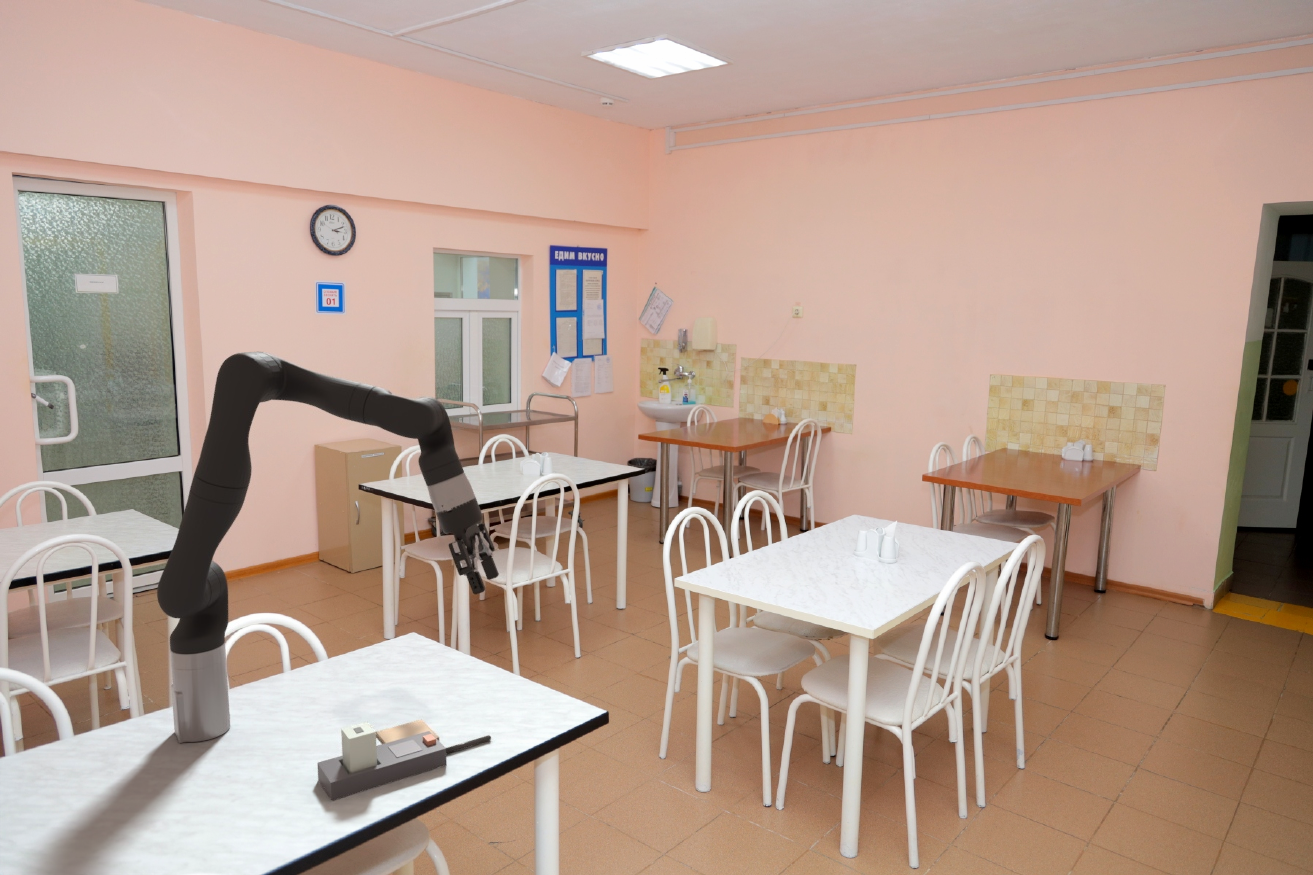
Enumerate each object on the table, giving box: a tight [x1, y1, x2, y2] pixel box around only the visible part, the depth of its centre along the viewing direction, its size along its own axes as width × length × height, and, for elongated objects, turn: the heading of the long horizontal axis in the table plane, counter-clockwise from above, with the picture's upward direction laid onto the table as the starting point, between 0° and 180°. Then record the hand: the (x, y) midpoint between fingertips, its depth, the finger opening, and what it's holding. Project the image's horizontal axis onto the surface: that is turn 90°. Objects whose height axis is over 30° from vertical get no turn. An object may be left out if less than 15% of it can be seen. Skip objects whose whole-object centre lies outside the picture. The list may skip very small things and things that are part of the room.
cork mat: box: [376, 719, 440, 744], centre depth 165 cm, size 9×9×1 cm
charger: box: [340, 721, 378, 774], centre depth 149 cm, size 4×4×7 cm
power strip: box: [317, 731, 492, 802], centre depth 155 cm, size 30×8×4 cm, turn 126°
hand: (487, 585), depth 158 cm, fingers open, 8 cm apart
